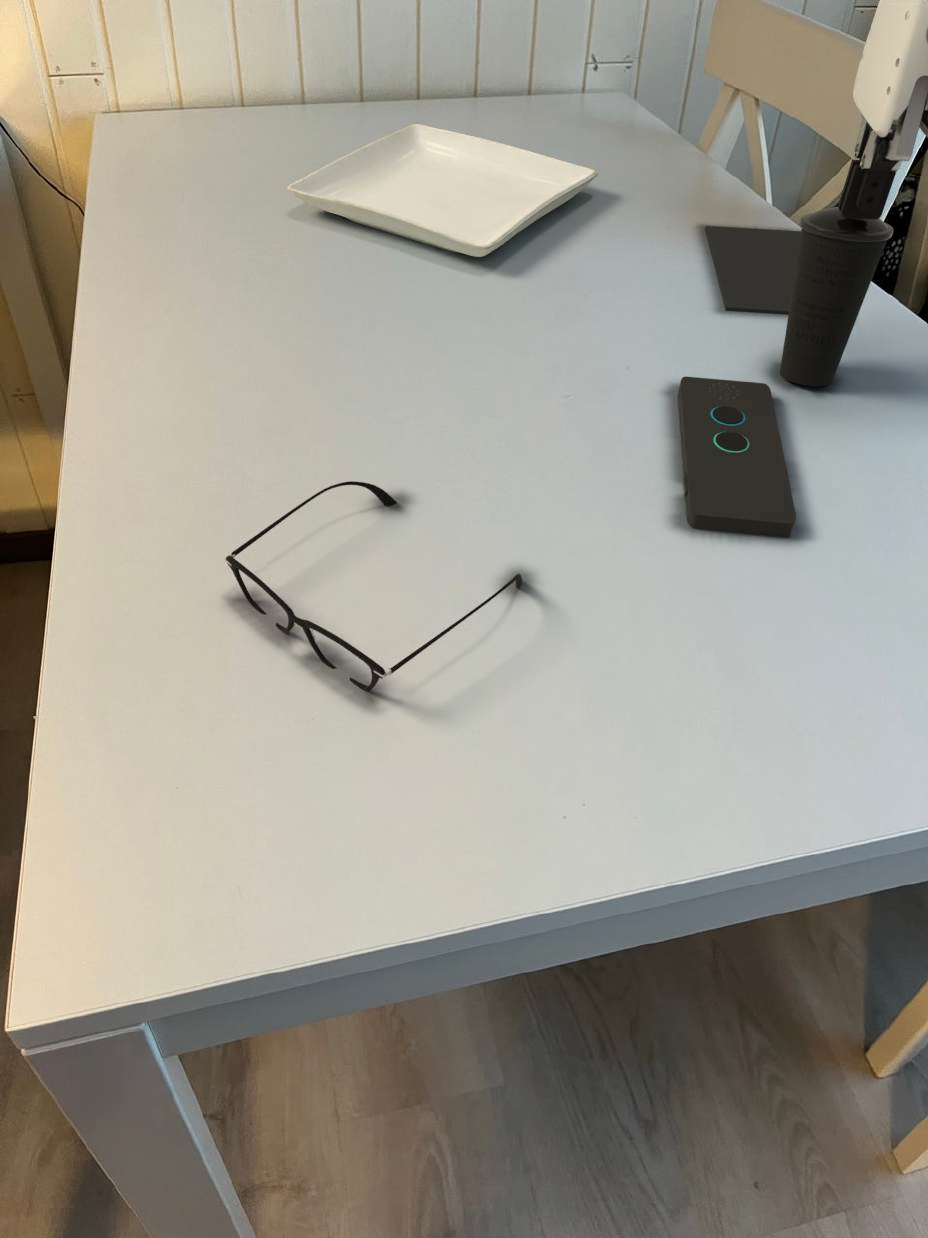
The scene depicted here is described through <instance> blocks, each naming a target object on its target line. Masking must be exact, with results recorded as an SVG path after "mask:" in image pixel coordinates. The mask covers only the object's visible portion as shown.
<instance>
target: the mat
mask: <svg viewBox="0 0 928 1238" xmlns="http://www.w3.org/2000/svg"><path fill="white" fill-rule="evenodd" d="M704 231H705V234H706V239H707V243H708V248H709V251H710V255H711V259H712V263H713V267H714V270H715V274H716V275H715V276H716V278H717V279H716V280H717V282H718V287H719V289H720V291H719V292H720V294H721V298H722V302H723V306H724V311H725V312H736V313H737V312H738V313H739V312H740V313H741V312H742V313H754V314H755V313H756V314H771V315H789V308H790V302H791V295H792V289H793V282H794V276H795V269H796V262H797V256H798V249H799V243H800V236H801V230H786V229H766V228H753V227H751V228H750V227H735V226H719V225H718V226H717V225H705V228H704Z"/></svg>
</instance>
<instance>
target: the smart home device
mask: <svg viewBox="0 0 928 1238" xmlns="http://www.w3.org/2000/svg"><path fill="white" fill-rule="evenodd" d="M677 403H678V417H679V430H680V431H679V432H680V443H681V444H680V445H681V458H682V469H683V470H682V471H683V491H684V499H685V508H686V509H685V510H686V520H687V524H688V526H689V527H691V528H692V529H695V530H705V531H716V532H724V533H733V534H734V533H736V534H746V535H756V536H766V537H776V538H785V539H786V538H789V537H790V536H791V534H792V531H793V528H794V526H795V522H796V521H797V513H796V509H795V504H794V499H793V494H792V489H791V485H790V480H789V474H788V469H787V464H786V459H785V454H784V449H783V444H782V440H781V434H780V429H779V424H778V420H777V415H776V410H775V405H774V400H773V395H772V389H771V388H770V387H769V385H768V384H767V383H764V382H752V381H743V380H733V379H732V380H730V379H720V378H709V377H695V376H683V377H682V378H681V380H680V382H679V388H678V392H677Z"/></svg>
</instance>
